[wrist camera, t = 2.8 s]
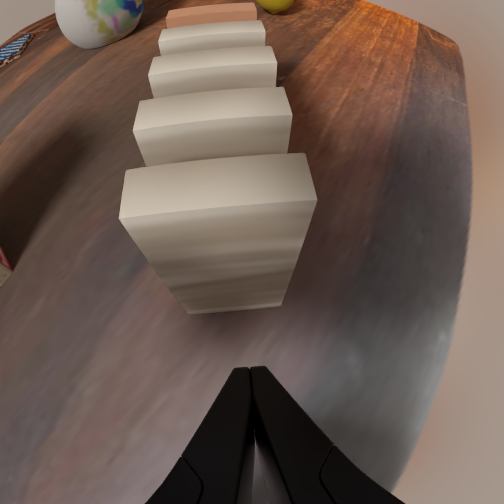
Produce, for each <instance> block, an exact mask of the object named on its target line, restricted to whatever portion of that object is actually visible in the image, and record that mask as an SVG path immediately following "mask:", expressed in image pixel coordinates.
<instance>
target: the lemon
mask: <svg viewBox="0 0 504 504" xmlns="http://www.w3.org/2000/svg"><path fill="white" fill-rule="evenodd" d="M256 1H257V2H258V4H259V5H260V6H261V7H262V8H264V9H265V10H268V11H269V12H270V13H272V14H277V13H278V12H280V11H283V10H286V9H287V8H289V7H290V6H291V5H292V4H293V2H294V0H256Z"/></svg>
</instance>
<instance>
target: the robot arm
mask: <svg viewBox="0 0 504 504" xmlns="http://www.w3.org/2000/svg"><path fill="white" fill-rule="evenodd" d="M254 430H255V432H254ZM255 440H256V446H257V451H258V455H259V459H260V463H261V467H262V471H263V475H264V479H265V483H266V487H267V491H268V495H269V499H270V503H271V504H405V503H403V502H402V501H401V500H399V499H398V498H397V497H395V496H394V495H392V494H391V493H390V492H388V491H387V490H385V489H384V488H383V487H381V486H380V485H379V484H377V483H376V482H375V481H373V480H372V479H371V478H370V477H368V476H367V475H366V474H365V473H363V472H362V471H361V470H360V469H359V468H357V467H356V466H355V465H354V464H353V463H352V462H351V461H350V460H349V459H348V458H347V457H346V456H345V455H344V454H343V453H342V452H341V451H340V450H339V449H338V447H337V446H334V443H333V442H332V441H331V440H330V439H329V438H328V437H327V436H326V435H325V434H324V433H323V431H322V430H321V429H320V428H319V427H318V426H317V425H316V424H315V423H314V421H313V420H312V419H311V418H310V417H309V416H308V415H307V414H306V413H305V411H304V410H303V409H302V408H301V407H300V406H299V405H298V403H297V402H296V401H295V400H294V399H293V398H292V397H291V395H290V394H289V393H288V392H287V391H286V390H285V388H284V387H283V386H282V385H281V384H280V383H279V381H278V380H277V379H276V378H275V377H274V375H273V374H272V373H271V372H270V371H269V370H268V368H267V367H266V366H255V367H251V368H250V369H249V368H248V367H239V368H234V369H233V370H232V372H231V374H230V376H229V377H228V379H227V381H226V382H225V384H224V386H223V388H222V389H221V391H220V393H219V394H218V396H217V398H216V399H215V401H214V403H213V404H212V406H211V408H210V409H209V411H208V413H207V414H206V416H205V418H204V419H203V421H202V423H201V424H200V426H199V428H198V429H197V431H196V432H195V434H194V436H193V437H192V439H191V441H190V442H189V444H188V445H187V447H186V449H185V450H184V452H183V453H182V457H180V458H179V459H178V461H177V463H176V464H175V466H174V467H173V469H172V470H171V472H170V473H169V475H168V476H167V477H166V479H165V480H164V482H163V483H162V484H161V485H160V487H159V488H158V489H157V490H156V491H155V493H154V494H153V495H152V496H151V497H150V499H149V500H148V501H147V502H146V503H145V504H251V500H252V485H253V470H254V455H255Z"/></svg>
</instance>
